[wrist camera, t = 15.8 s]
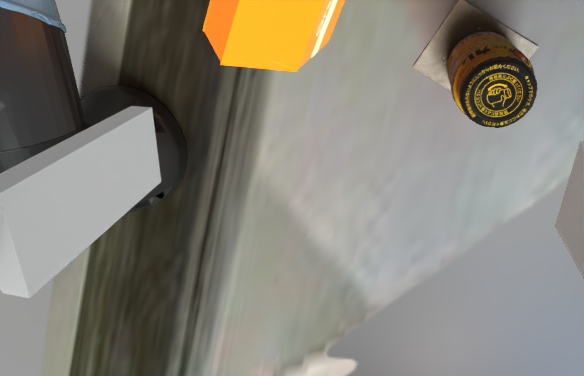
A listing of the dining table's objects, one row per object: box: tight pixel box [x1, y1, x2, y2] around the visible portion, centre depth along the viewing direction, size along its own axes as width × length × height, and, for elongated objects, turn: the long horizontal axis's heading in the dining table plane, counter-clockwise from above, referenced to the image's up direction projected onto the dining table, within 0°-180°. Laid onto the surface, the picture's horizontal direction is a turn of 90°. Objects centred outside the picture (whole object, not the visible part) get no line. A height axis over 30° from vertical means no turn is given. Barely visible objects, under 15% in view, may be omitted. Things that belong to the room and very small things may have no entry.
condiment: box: [413, 0, 538, 128], centre depth 39 cm, size 7×8×12 cm
